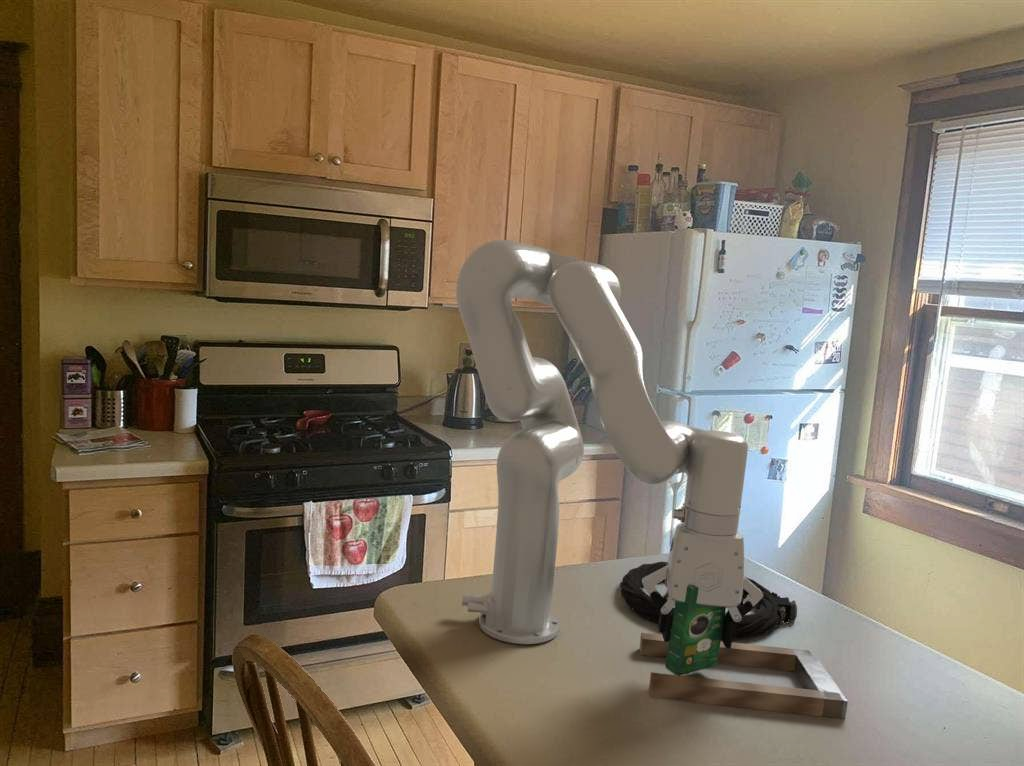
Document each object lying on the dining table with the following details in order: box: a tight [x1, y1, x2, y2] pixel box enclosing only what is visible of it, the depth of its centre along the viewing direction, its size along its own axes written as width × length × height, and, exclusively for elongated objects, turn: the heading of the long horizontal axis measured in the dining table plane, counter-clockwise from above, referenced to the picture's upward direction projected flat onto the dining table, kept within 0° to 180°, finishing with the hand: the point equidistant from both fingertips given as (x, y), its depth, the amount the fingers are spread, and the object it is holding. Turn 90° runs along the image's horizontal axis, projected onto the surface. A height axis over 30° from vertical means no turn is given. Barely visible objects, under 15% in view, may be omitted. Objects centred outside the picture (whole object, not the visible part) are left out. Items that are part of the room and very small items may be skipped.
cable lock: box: [619, 561, 798, 639], centre depth 133 cm, size 28×4×30 cm
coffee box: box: [664, 585, 727, 676], centre depth 107 cm, size 8×3×13 cm, turn 122°
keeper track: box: [639, 632, 849, 720], centre depth 108 cm, size 26×14×2 cm, turn 87°
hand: (695, 640), depth 107 cm, fingers closed on coffee box, 8 cm apart
